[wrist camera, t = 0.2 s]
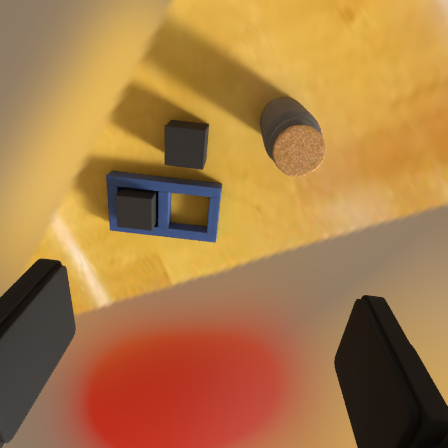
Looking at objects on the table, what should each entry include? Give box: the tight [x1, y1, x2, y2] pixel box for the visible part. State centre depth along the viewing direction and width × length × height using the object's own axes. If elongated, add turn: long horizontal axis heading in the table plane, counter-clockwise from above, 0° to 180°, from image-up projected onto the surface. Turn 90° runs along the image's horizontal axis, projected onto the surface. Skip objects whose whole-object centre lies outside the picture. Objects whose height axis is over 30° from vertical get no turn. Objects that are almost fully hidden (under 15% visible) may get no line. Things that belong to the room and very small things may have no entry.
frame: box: [106, 171, 222, 242], centre depth 49 cm, size 9×16×2 cm, turn 84°
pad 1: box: [116, 187, 158, 231], centre depth 48 cm, size 5×5×4 cm
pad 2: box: [165, 120, 209, 169], centre depth 43 cm, size 5×5×4 cm
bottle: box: [260, 97, 326, 176], centre depth 36 cm, size 6×6×15 cm
